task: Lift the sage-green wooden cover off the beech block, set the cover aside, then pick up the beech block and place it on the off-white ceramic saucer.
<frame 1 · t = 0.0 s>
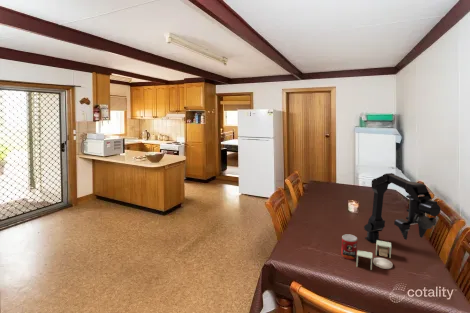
hand: (413, 238, 133), 15 cm above the table, fingers open, 9 cm apart
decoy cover: (364, 265, 136), on the table
canned food: (348, 256, 146), on the table
cover: (383, 254, 146), on the table
saucer: (382, 263, 137), on the table
block: (383, 254, 146), on the table
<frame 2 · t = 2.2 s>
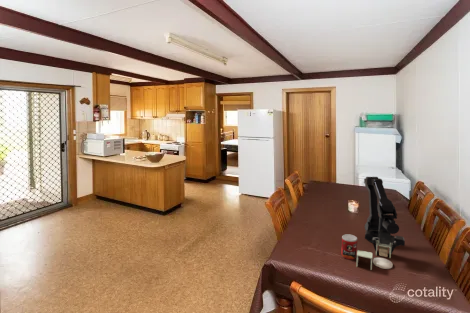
hand: (383, 252, 146), 1 cm above the table, fingers closed on cover, 7 cm apart
cover: (383, 254, 146), on the table, touching gripper
everything else where it was.
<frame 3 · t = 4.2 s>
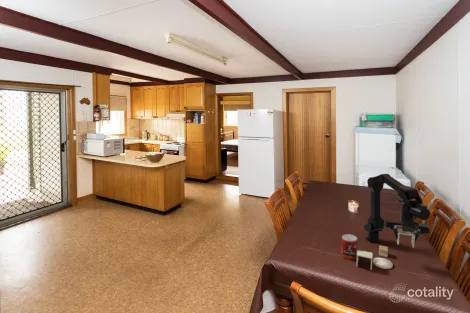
hand: (405, 241, 137), 11 cm above the table, fingers closed on cover, 7 cm apart
cover: (405, 243, 137), point 10 cm above the table, touching gripper
everything else where it was.
when the fingers open (1 cm above the table, at t = 6.2 s): cover stays where it is, on the table.
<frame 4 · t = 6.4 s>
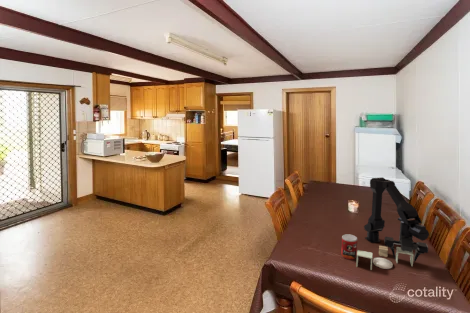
hand: (404, 259, 138), 1 cm above the table, fingers open, 9 cm apart
cover: (403, 262, 138), on the table
everything else where it was.
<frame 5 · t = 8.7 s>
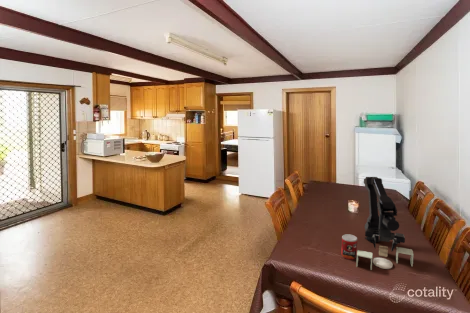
hand: (383, 249, 146), 3 cm above the table, fingers open, 8 cm apart
cover: (403, 262, 138), on the table, touching gripper
everything else where it was.
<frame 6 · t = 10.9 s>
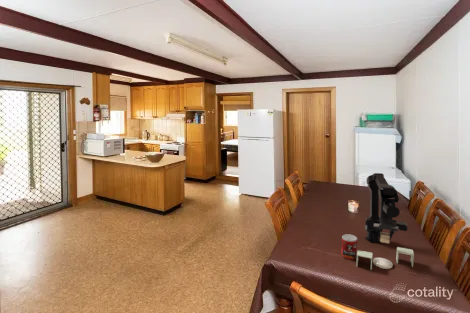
hand: (384, 239, 139), 12 cm above the table, fingers closed on block, 4 cm apart
cover: (404, 262, 138), on the table
block: (384, 241, 139), point 11 cm above the table, touching gripper
everything else where it was.
when the fingers open (3 cm above the table, at t = 12.6 s): block drops 1 cm, resting on saucer.
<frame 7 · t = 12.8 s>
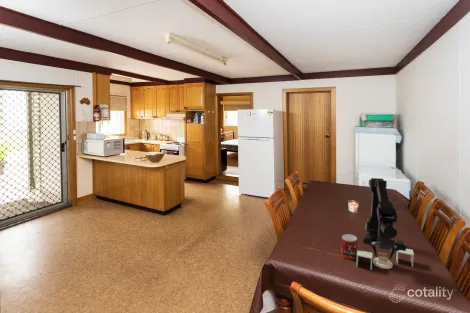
hand: (382, 257, 137), 3 cm above the table, fingers open, 6 cm apart
block: (382, 262, 137), point 1 cm above the table, touching saucer
everything else where it was.
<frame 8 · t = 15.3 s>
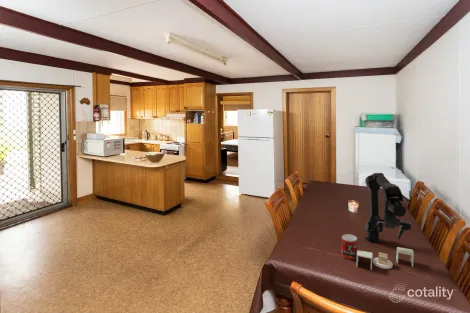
hand: (388, 237, 140), 12 cm above the table, fingers open, 9 cm apart
nothing on the table moved.
at the end: block 0.0 cm off-centre on the saucer, point 1.0 cm above the saucer's base; cover moved 10.5 cm from its start; block touching saucer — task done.
